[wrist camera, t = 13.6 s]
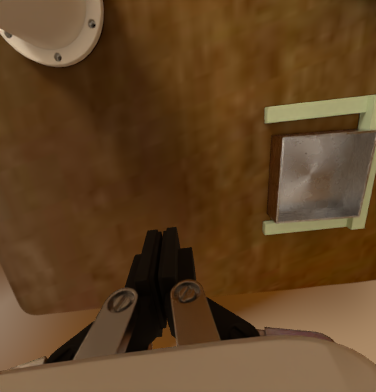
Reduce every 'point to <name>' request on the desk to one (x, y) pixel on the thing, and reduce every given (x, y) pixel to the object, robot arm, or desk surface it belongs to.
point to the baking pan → (319, 174)
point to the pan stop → (365, 105)
